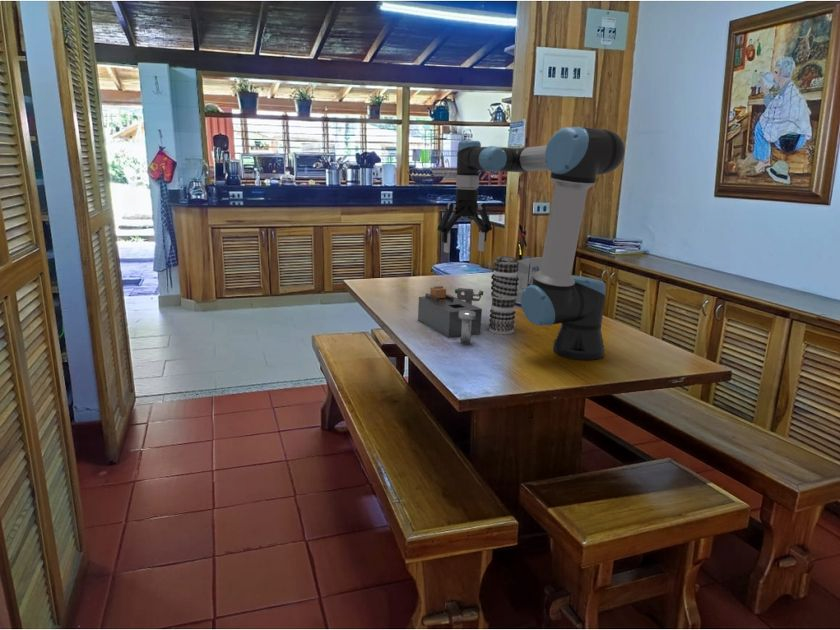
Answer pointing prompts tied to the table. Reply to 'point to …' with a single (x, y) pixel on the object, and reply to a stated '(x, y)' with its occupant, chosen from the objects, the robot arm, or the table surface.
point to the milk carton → (526, 275)
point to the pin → (466, 325)
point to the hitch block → (446, 314)
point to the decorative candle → (503, 295)
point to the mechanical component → (467, 295)
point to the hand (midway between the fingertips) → (463, 251)
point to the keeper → (438, 292)
